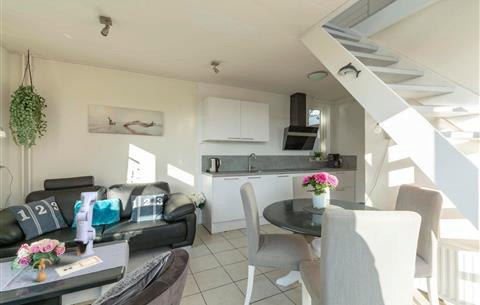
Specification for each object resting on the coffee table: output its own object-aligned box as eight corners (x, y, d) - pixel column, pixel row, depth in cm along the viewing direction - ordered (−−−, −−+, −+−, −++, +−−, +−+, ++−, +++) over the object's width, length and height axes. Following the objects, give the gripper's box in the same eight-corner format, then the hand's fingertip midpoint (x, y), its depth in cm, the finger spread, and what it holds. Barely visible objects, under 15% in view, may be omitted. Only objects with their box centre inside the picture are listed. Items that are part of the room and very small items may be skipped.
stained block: (75, 254, 135) (76, 246, 135) (84, 251, 138) (84, 244, 138) (77, 256, 132) (78, 248, 132) (86, 253, 136) (86, 246, 136)
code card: (54, 269, 130) (54, 268, 130) (95, 255, 147) (95, 255, 147) (60, 276, 122) (60, 276, 122) (103, 261, 139) (103, 261, 139)
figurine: (31, 285, 114) (32, 263, 114) (30, 281, 118) (31, 259, 118) (51, 278, 120) (52, 257, 120) (50, 274, 124) (51, 254, 124)
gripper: (71, 229, 137) (70, 250, 137) (77, 235, 128) (77, 257, 128) (84, 227, 142) (83, 247, 142) (91, 232, 133) (91, 253, 133)
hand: (81, 251), depth 135 cm, fingers closed on stained block, 4 cm apart
